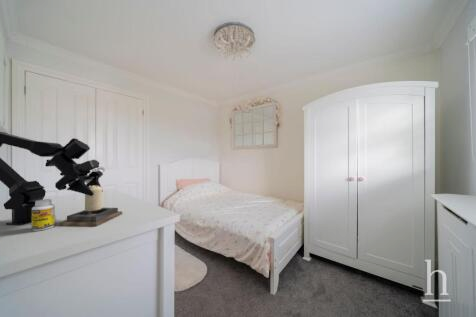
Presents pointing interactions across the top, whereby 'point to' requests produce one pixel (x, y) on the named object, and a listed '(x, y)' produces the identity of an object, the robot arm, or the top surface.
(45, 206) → the supplement bottle
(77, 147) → the robot arm
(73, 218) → the socket
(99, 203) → the candle
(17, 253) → the top surface
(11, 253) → the top surface
